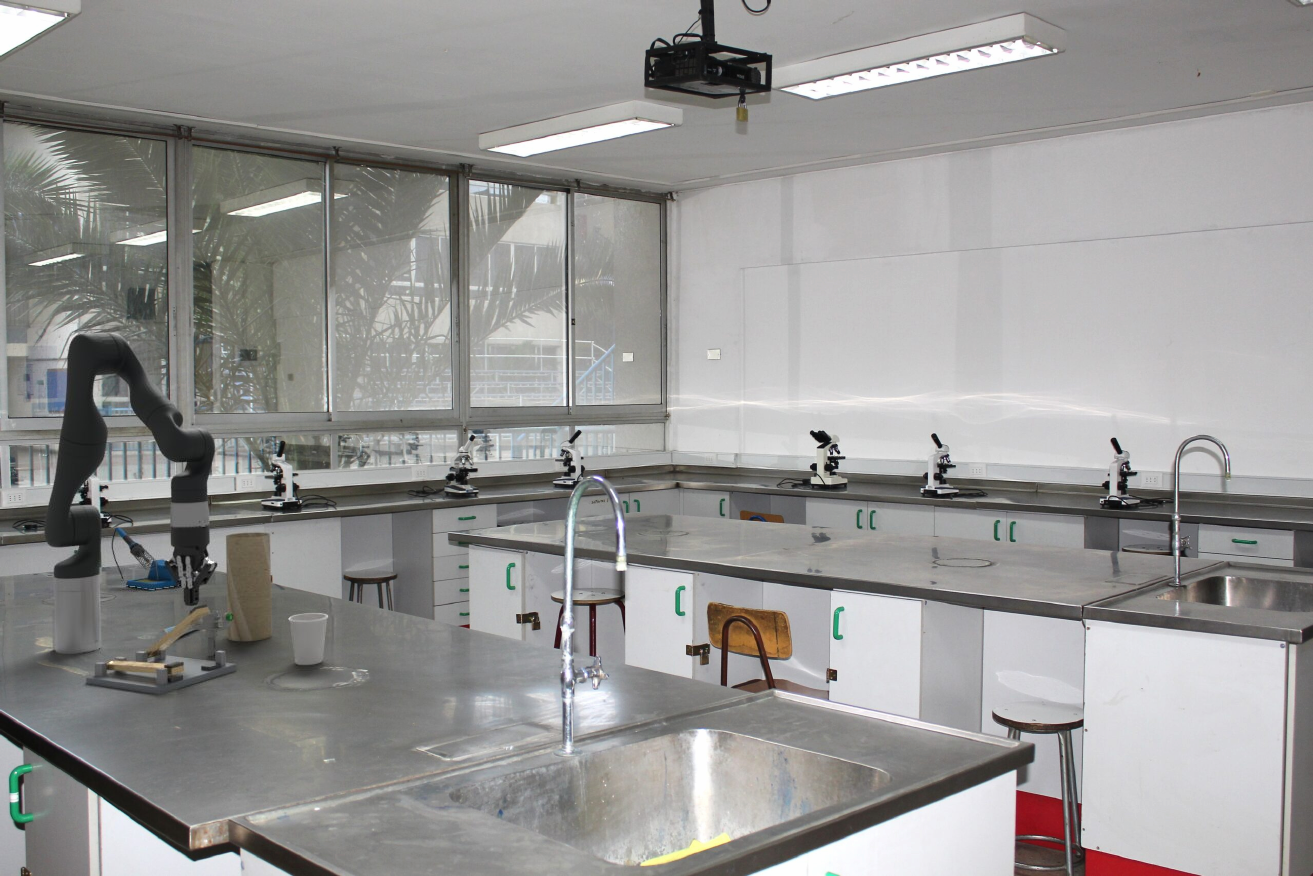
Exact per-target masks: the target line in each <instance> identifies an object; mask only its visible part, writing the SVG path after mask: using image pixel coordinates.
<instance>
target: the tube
mask: <svg viewBox="0 0 1313 876" xmlns="http://www.w3.org/2000/svg"><path fill="white" fill-rule="evenodd" d="M225 553H226V554H225V557H226V560H225V561H226V605H227V606H226V609H227V610H226V611H227V612H226V613H231V614H233V620H232V625H231V627H229V628H227V639H228V640H229V641H233V642H253V641H255V642H256V641H261V640H267V639H268V638H271V637H272V636H273V635H272V578H271V576H272V575H271V574H272V573H271V569H272V568H271V533H270V532H268V533H267V532H241V533H232V534H227V535H226V536H225Z"/></svg>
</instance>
